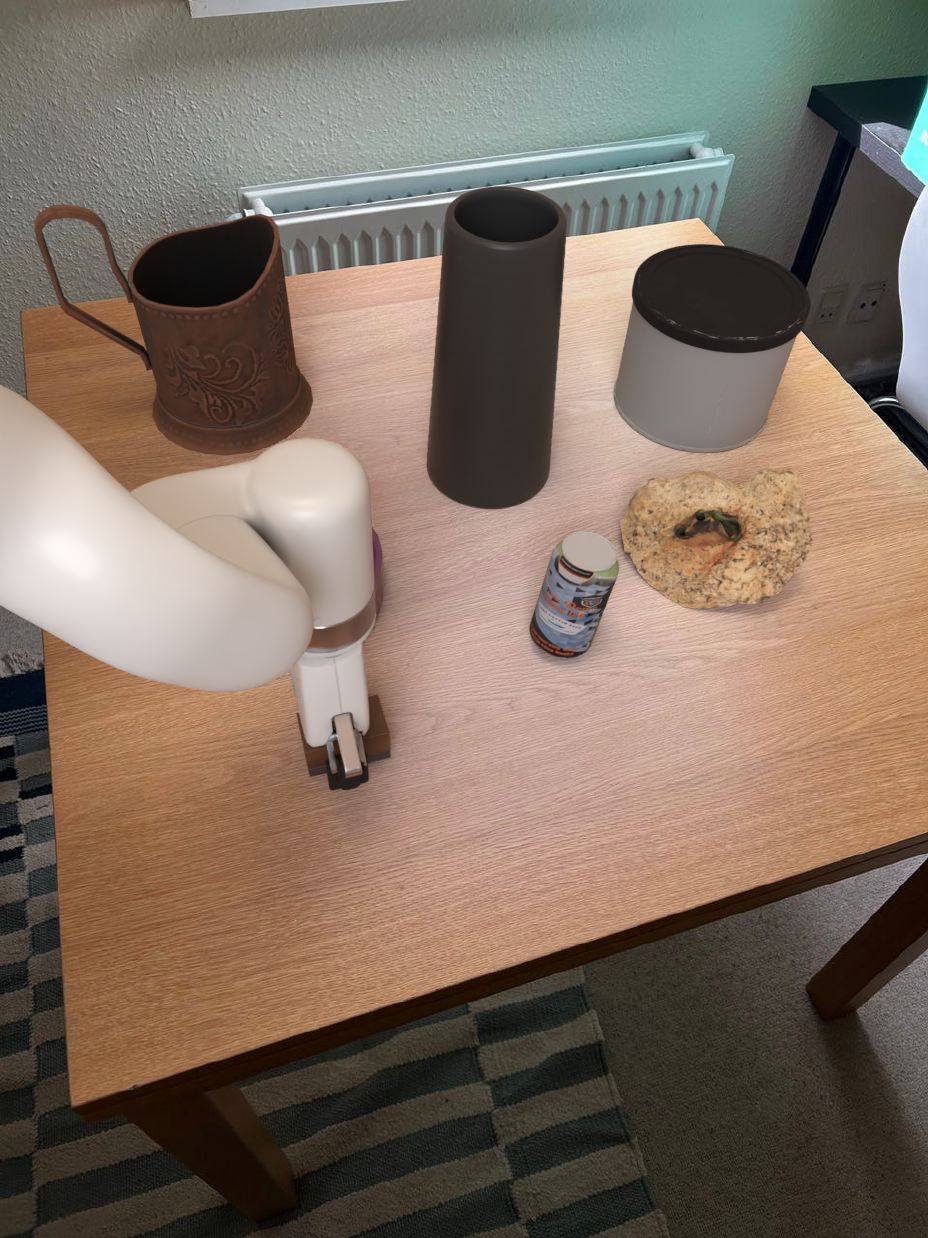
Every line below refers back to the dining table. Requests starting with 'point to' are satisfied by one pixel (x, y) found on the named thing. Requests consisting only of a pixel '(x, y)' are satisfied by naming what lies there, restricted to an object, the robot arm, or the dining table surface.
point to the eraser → (373, 740)
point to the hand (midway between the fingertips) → (336, 733)
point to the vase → (496, 346)
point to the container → (707, 345)
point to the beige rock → (718, 536)
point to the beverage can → (574, 594)
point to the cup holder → (208, 331)
